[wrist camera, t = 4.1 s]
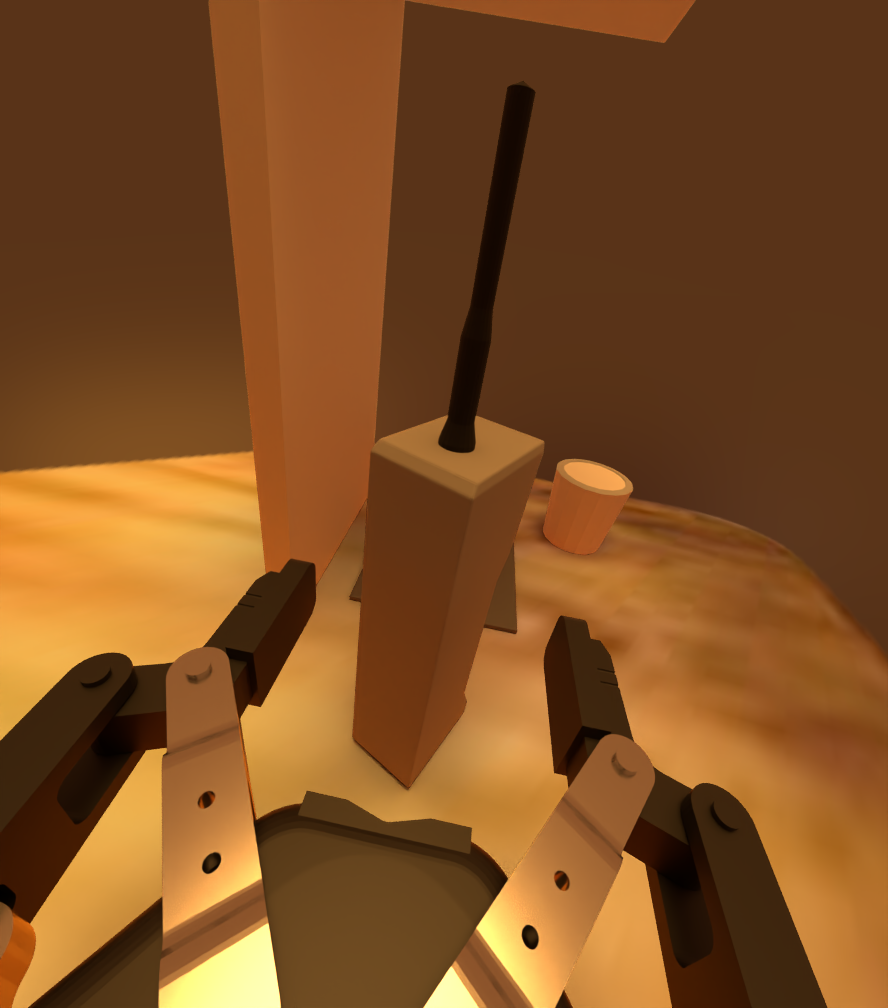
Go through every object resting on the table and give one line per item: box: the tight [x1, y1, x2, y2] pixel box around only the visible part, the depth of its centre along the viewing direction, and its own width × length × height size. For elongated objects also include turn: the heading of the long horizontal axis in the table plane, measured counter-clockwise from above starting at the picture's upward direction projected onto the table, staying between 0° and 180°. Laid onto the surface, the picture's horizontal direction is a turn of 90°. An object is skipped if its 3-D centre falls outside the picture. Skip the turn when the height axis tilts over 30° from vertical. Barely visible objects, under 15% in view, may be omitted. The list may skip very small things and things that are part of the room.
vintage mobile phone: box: [352, 81, 544, 788], centre depth 15 cm, size 4×5×25 cm
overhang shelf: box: [208, 0, 695, 633], centre depth 25 cm, size 17×18×36 cm
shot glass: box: [543, 459, 633, 555], centre depth 39 cm, size 7×7×7 cm
